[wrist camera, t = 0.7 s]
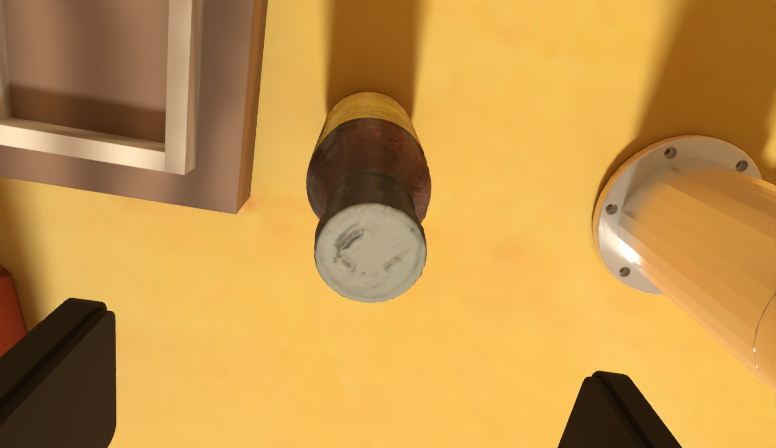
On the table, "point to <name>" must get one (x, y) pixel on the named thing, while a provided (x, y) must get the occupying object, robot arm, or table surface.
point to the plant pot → (9, 314)
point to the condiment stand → (133, 97)
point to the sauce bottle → (369, 199)
